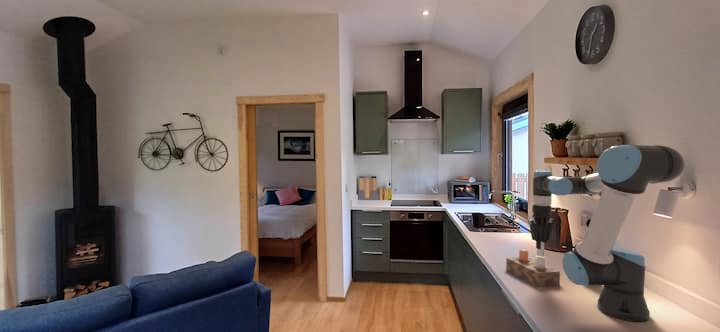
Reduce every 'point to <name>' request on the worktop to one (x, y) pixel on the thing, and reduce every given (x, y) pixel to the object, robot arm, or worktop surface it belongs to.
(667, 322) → the worktop surface
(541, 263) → the white oval piece
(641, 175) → the robot arm
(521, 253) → the terracotta plug
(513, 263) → the walnut plug block
